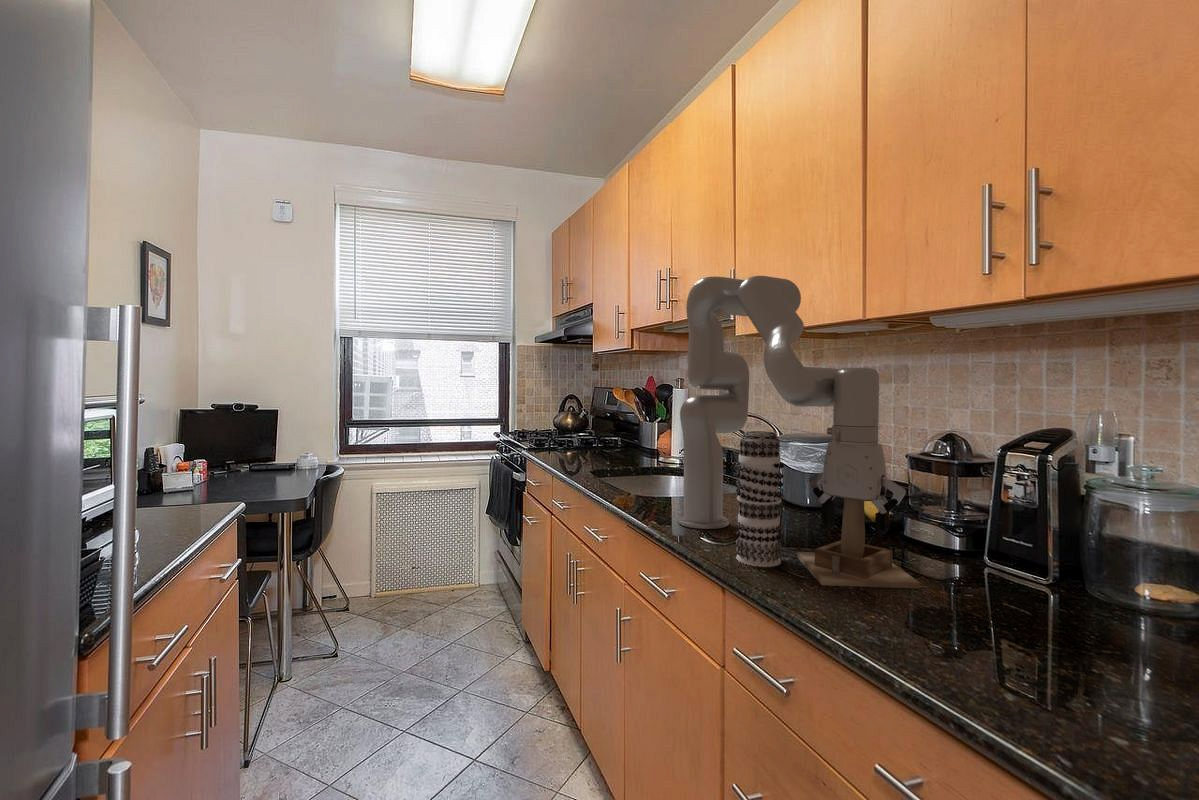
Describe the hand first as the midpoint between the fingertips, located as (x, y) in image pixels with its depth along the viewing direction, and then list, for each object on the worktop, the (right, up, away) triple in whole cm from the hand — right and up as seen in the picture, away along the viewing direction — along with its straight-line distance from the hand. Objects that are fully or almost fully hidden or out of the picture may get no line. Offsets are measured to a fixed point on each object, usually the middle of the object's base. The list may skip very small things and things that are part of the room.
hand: (853, 529), depth 103 cm
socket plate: (0, -8, 0) cm, 8 cm away
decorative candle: (-16, -8, +7) cm, 19 cm away
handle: (0, -7, 0) cm, 7 cm away
